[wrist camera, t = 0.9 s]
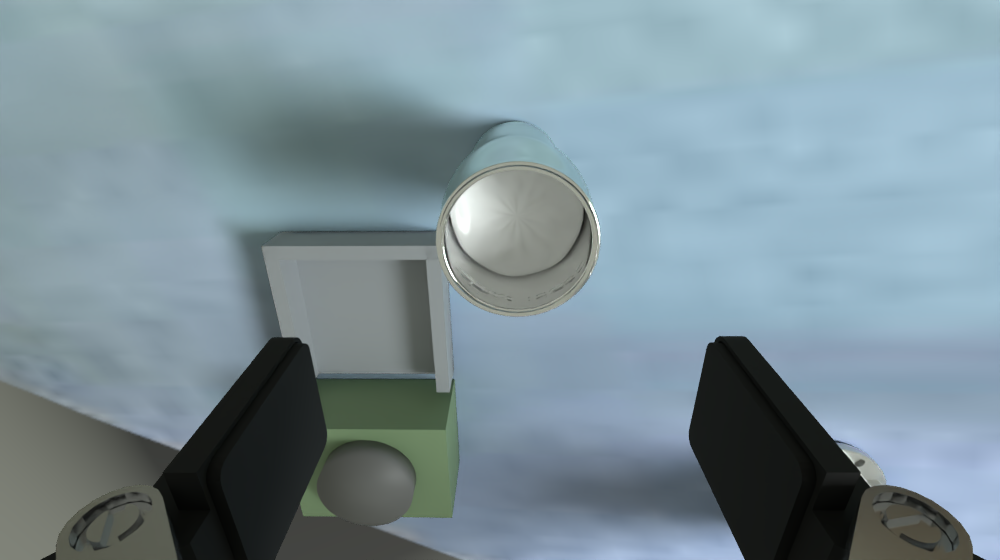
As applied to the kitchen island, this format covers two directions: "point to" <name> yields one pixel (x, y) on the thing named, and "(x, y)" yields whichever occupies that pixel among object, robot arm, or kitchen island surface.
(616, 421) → the kitchen island surface
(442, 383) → the push button box
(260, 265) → the kitchen island surface
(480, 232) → the beer glass
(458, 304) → the kitchen island surface
